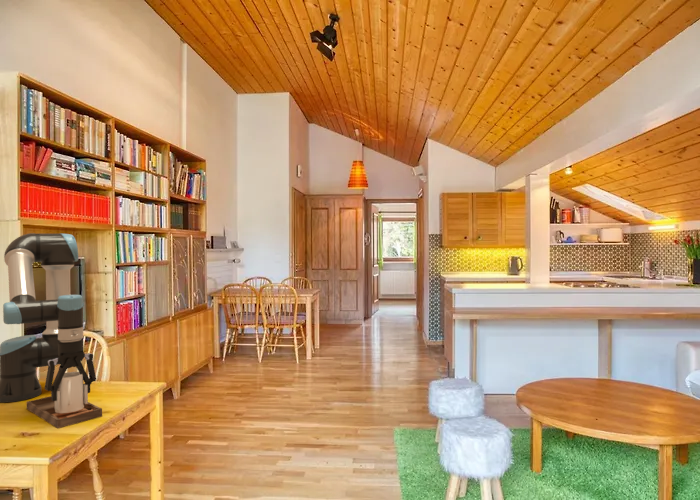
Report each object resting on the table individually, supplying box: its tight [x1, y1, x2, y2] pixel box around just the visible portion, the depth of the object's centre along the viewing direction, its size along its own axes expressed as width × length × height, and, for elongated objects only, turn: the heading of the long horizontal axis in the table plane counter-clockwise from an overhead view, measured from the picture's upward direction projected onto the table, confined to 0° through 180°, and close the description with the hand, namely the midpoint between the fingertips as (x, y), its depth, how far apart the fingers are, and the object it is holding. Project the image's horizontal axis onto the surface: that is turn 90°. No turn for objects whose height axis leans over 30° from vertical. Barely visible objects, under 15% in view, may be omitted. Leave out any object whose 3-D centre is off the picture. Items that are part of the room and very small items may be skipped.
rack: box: [26, 395, 103, 429], centre depth 162 cm, size 30×14×3 cm, turn 51°
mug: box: [55, 371, 84, 413], centre depth 157 cm, size 12×8×12 cm
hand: (71, 406), depth 157 cm, fingers closed on mug, 8 cm apart
